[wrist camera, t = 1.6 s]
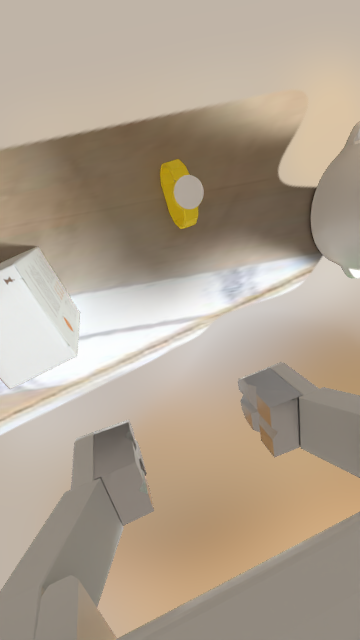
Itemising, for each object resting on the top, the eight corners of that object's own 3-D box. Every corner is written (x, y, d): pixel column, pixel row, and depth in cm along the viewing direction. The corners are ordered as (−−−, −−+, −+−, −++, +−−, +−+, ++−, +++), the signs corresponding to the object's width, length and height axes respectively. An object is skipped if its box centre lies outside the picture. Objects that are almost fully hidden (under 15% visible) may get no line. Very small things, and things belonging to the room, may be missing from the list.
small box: (-17, 269, 27) (-75, 299, 17) (39, 244, 27) (12, 260, 18) (33, 337, 30) (8, 393, 21) (82, 313, 31) (78, 357, 21)
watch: (149, 172, 28) (161, 156, 23) (174, 164, 29) (192, 146, 23) (168, 231, 30) (184, 230, 25) (191, 223, 31) (212, 220, 25)
